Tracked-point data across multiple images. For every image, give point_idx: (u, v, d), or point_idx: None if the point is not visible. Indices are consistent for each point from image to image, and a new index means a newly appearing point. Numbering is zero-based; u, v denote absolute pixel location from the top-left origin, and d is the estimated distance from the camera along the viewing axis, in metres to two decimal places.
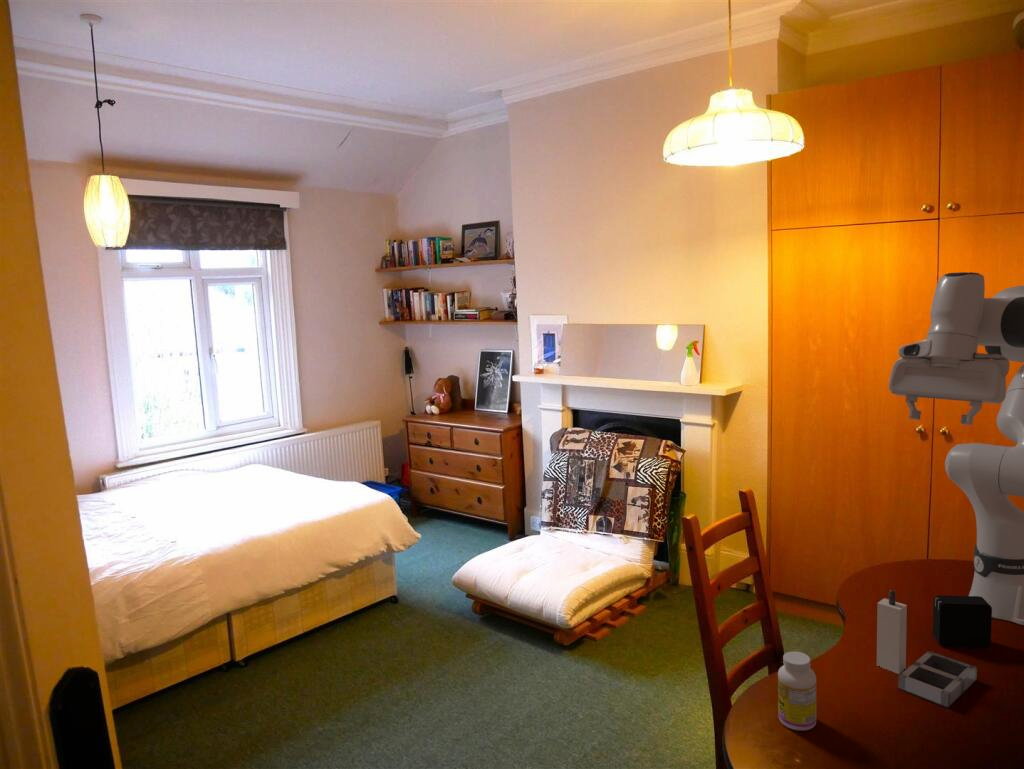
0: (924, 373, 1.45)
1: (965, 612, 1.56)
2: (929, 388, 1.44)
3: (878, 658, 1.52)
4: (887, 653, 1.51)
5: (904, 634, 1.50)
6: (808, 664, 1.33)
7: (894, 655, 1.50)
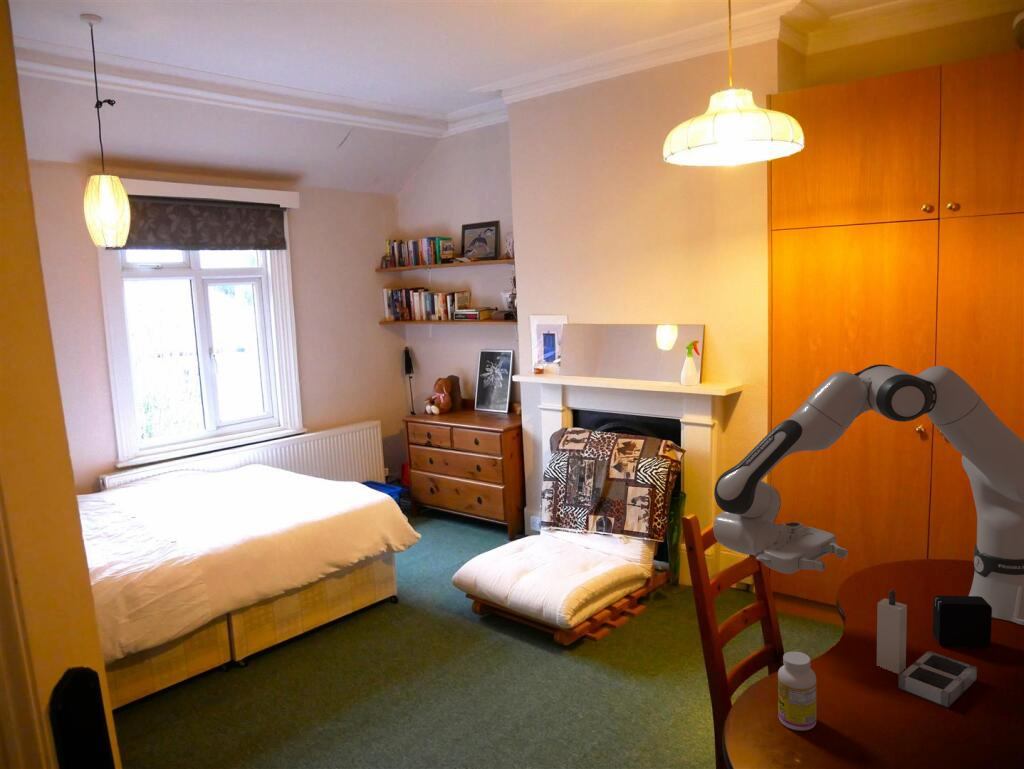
0: None
1: (965, 612, 1.56)
2: None
3: (878, 658, 1.52)
4: (887, 653, 1.51)
5: (904, 634, 1.50)
6: (808, 664, 1.33)
7: (894, 655, 1.50)
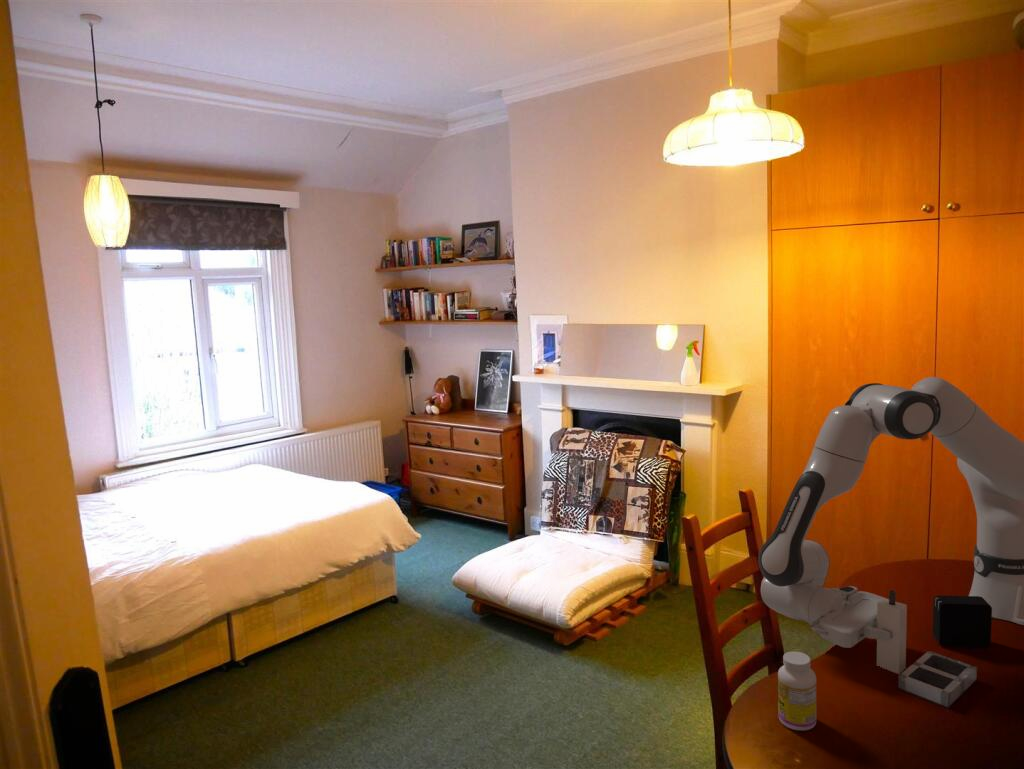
0: None
1: (965, 612, 1.56)
2: None
3: (878, 658, 1.52)
4: (887, 653, 1.51)
5: (904, 634, 1.50)
6: (808, 664, 1.33)
7: (894, 655, 1.50)
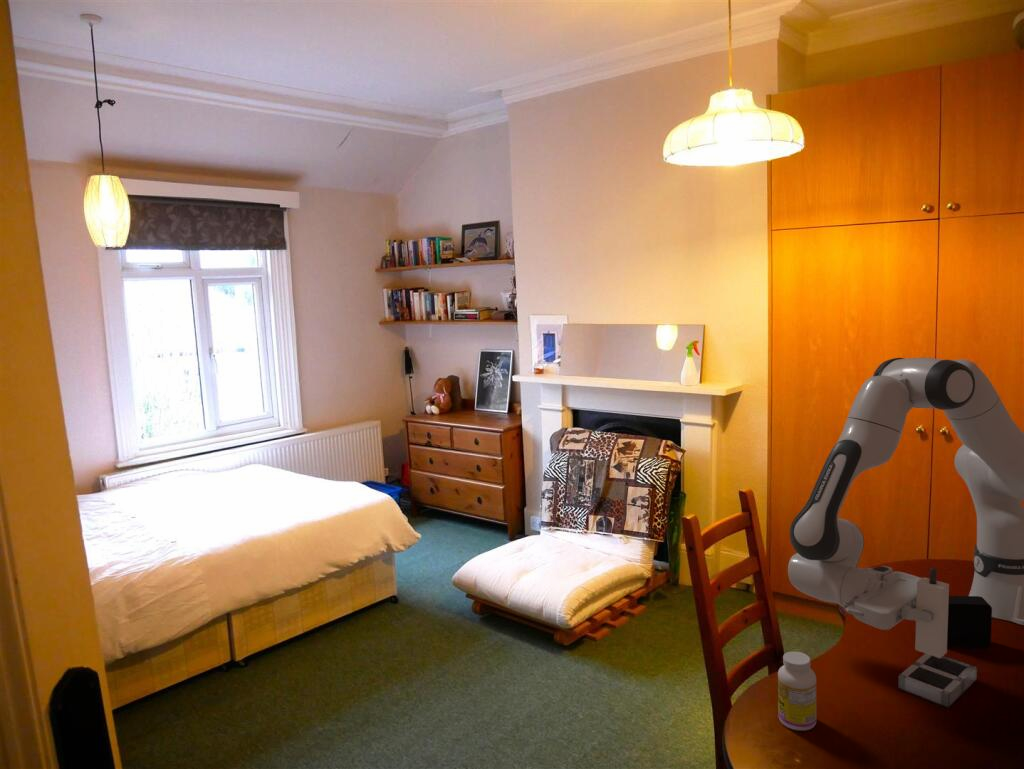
0: None
1: (965, 612, 1.56)
2: None
3: (917, 641, 1.42)
4: (927, 636, 1.40)
5: (946, 615, 1.39)
6: (808, 664, 1.33)
7: (935, 637, 1.39)
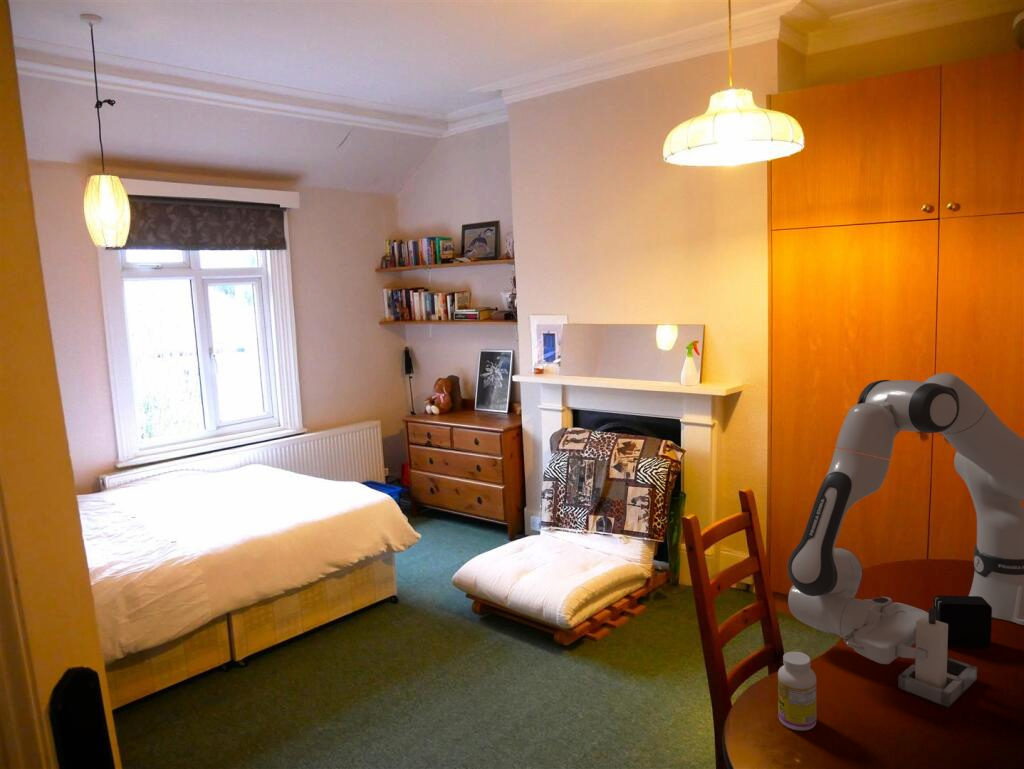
0: None
1: (965, 612, 1.56)
2: None
3: None
4: (927, 675, 1.42)
5: (945, 655, 1.41)
6: (808, 664, 1.33)
7: (934, 677, 1.41)
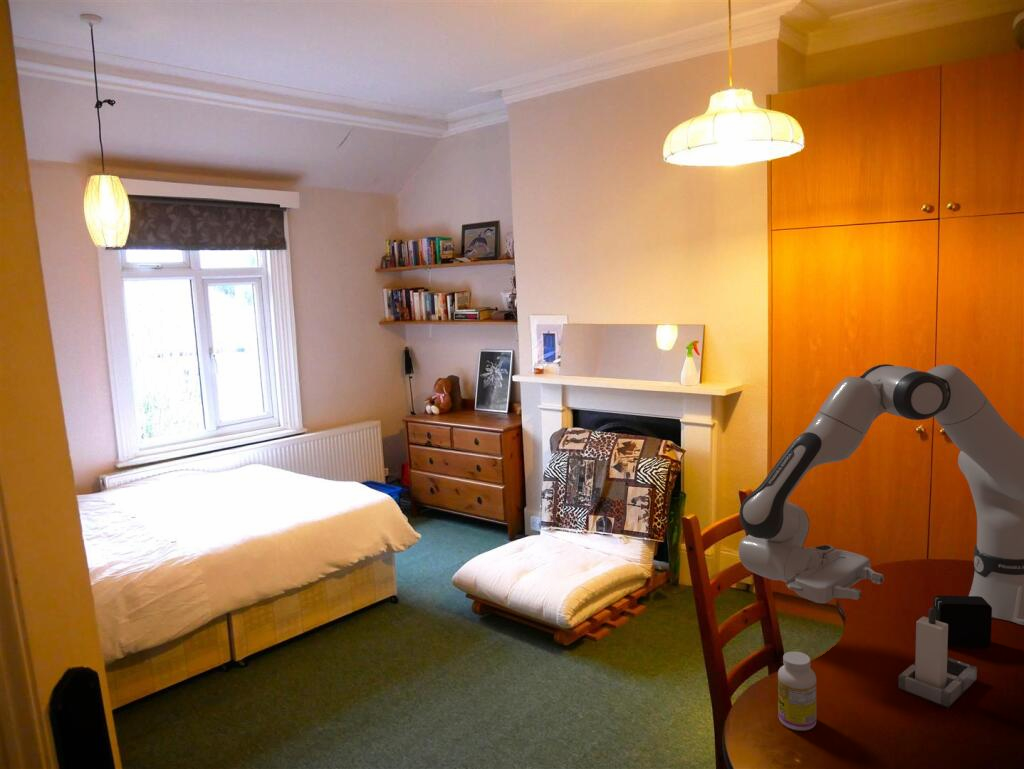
0: None
1: (965, 612, 1.56)
2: None
3: None
4: (927, 675, 1.42)
5: (945, 655, 1.41)
6: (808, 664, 1.33)
7: (934, 677, 1.41)
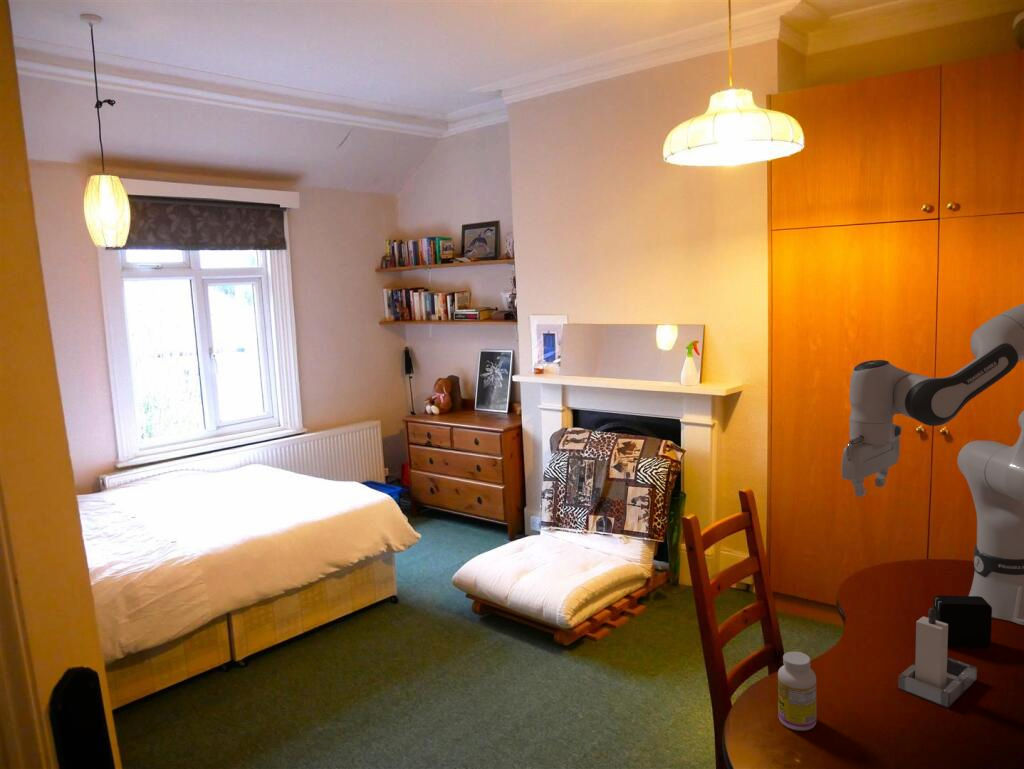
0: None
1: (965, 612, 1.56)
2: None
3: None
4: (927, 675, 1.42)
5: (945, 655, 1.41)
6: (808, 664, 1.33)
7: (934, 677, 1.41)
